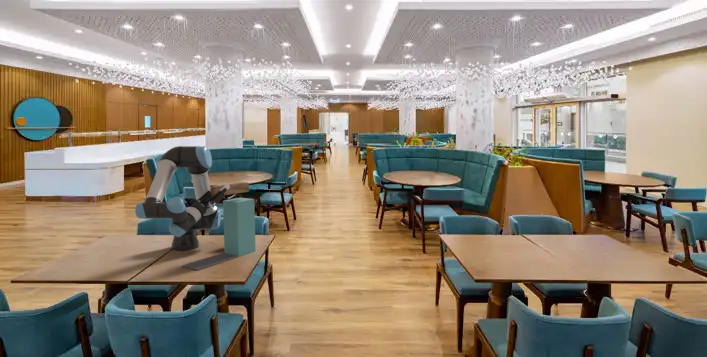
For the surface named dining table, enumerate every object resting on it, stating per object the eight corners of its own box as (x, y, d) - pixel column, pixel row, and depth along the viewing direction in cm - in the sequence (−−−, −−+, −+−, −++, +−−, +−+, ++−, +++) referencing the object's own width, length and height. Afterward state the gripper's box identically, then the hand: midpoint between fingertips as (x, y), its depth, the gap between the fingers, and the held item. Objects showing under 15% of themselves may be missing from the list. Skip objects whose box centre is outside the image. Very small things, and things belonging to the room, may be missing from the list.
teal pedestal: (224, 253, 247) (222, 200, 244) (241, 248, 258) (240, 197, 255) (238, 256, 241) (237, 202, 238) (255, 251, 252) (254, 199, 249)
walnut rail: (210, 196, 231) (210, 186, 231) (243, 190, 252) (243, 182, 251) (216, 196, 229) (215, 187, 229) (249, 191, 250) (248, 182, 249)
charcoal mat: (181, 266, 223) (181, 265, 223) (221, 254, 245) (221, 253, 245) (197, 270, 217) (197, 269, 217) (236, 257, 239) (236, 256, 239)
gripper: (187, 216, 227) (217, 189, 243) (210, 219, 219) (240, 191, 235) (181, 204, 223) (211, 178, 239) (204, 207, 215) (234, 180, 231)
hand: (225, 184), depth 237 cm, fingers closed on walnut rail, 4 cm apart
